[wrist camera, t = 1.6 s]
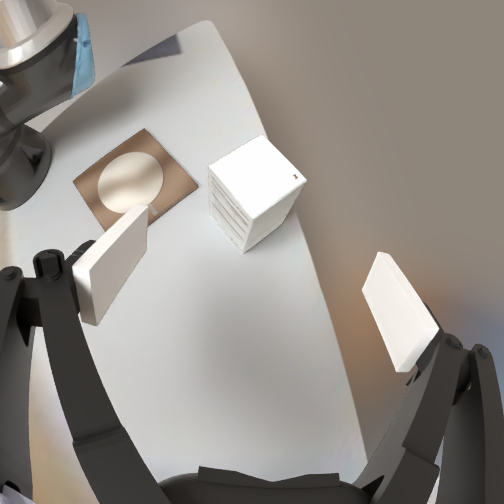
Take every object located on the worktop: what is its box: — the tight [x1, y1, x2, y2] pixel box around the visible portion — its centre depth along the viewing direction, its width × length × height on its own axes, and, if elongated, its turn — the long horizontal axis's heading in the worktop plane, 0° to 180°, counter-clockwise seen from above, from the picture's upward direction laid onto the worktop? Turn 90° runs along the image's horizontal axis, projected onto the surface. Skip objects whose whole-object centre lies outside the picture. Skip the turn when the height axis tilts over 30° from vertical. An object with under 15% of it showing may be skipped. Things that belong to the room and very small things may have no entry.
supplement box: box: [209, 135, 307, 254], centre depth 34 cm, size 7×7×13 cm
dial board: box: [73, 128, 198, 232], centre depth 39 cm, size 14×14×1 cm
